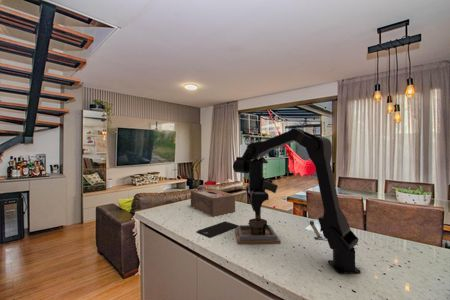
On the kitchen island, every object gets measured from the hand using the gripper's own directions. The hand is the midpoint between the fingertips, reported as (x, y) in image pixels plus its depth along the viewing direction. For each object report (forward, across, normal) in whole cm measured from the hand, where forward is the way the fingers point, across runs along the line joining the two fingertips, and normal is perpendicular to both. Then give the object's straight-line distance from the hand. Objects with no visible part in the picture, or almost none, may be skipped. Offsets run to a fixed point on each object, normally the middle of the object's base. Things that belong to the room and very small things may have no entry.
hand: (256, 213), depth 89 cm
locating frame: (+8, 0, 0) cm, 8 cm away
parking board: (+10, 0, 0) cm, 10 cm away
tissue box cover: (+10, +41, +19) cm, 46 cm away
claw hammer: (+10, +6, -28) cm, 30 cm away
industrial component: (+9, 0, 0) cm, 9 cm away
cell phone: (+10, +9, +15) cm, 20 cm away
